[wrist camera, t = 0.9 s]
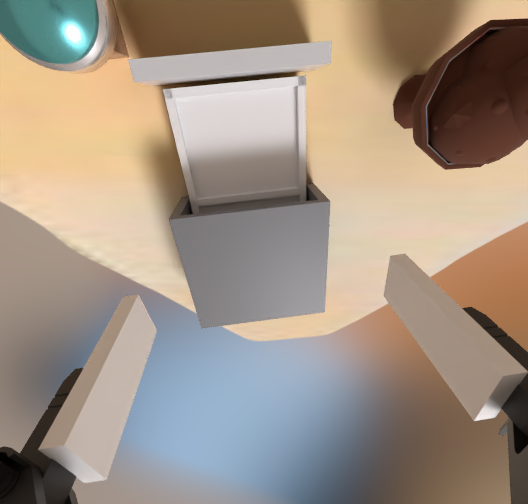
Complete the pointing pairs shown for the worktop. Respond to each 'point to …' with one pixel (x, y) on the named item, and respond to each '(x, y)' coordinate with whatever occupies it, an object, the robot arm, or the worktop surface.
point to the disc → (61, 32)
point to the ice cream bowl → (471, 98)
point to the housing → (255, 259)
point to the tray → (238, 122)
